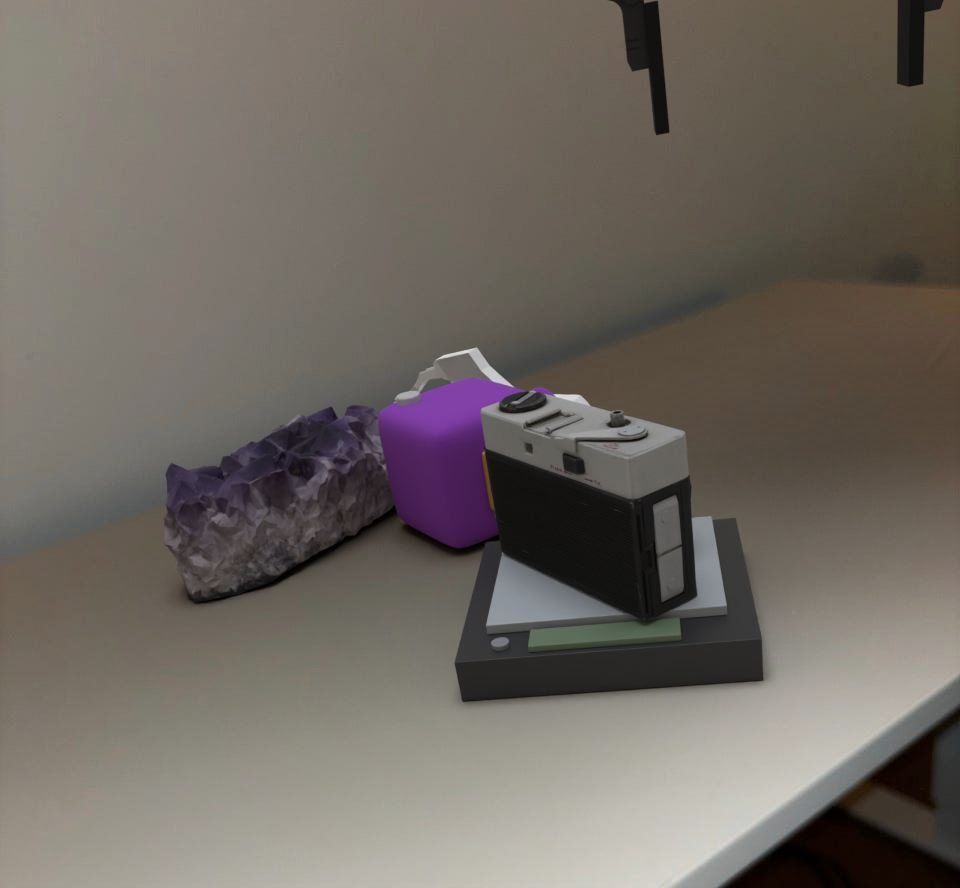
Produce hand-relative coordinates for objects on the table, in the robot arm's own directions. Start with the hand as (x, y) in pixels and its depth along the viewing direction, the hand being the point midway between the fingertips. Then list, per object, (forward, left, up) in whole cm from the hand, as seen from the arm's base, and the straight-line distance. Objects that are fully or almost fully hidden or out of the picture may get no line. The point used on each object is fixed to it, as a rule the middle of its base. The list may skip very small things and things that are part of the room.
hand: (783, 109), depth 60 cm
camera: (+11, +12, -22) cm, 27 cm away
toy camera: (+21, -5, -25) cm, 33 cm away
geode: (+36, -3, -25) cm, 44 cm away
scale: (+12, +13, -25) cm, 31 cm away
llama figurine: (+23, -23, -25) cm, 41 cm away
